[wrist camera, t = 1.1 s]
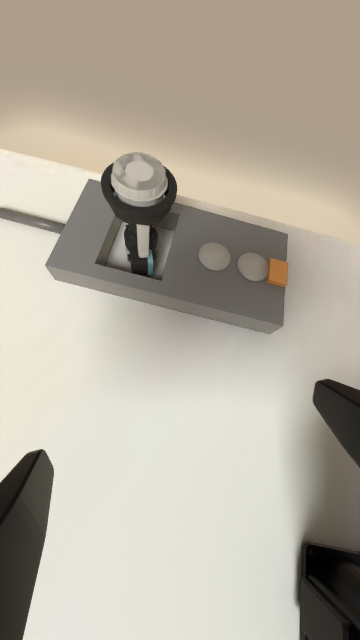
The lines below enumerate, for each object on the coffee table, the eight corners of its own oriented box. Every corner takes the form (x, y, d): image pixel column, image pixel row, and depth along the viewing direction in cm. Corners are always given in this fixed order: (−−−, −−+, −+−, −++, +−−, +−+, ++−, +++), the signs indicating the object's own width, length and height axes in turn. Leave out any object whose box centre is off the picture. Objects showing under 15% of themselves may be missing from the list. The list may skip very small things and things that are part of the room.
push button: (112, 229, 26) (93, 129, 17) (160, 226, 27) (168, 131, 18) (118, 282, 24) (101, 202, 14) (170, 277, 25) (185, 200, 16)
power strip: (275, 248, 28) (290, 231, 25) (269, 334, 24) (285, 324, 21) (19, 177, 27) (4, 150, 24) (-34, 257, 22) (-59, 235, 20)
